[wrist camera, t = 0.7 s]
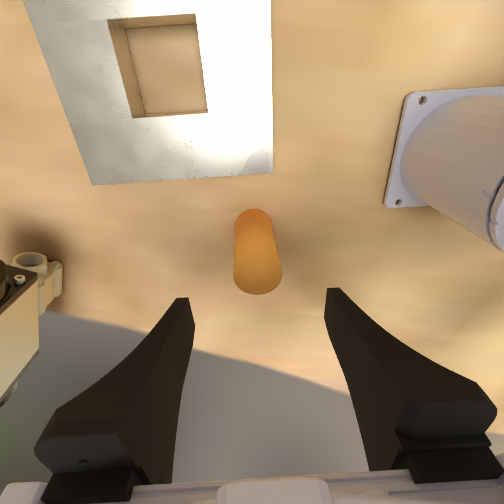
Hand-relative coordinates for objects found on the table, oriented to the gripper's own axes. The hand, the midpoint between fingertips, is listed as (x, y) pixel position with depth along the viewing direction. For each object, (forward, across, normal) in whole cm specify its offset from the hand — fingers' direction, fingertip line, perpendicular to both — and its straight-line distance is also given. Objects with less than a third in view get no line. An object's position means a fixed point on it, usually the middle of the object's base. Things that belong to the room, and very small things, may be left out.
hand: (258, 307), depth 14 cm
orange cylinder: (+10, 0, 0) cm, 10 cm away
